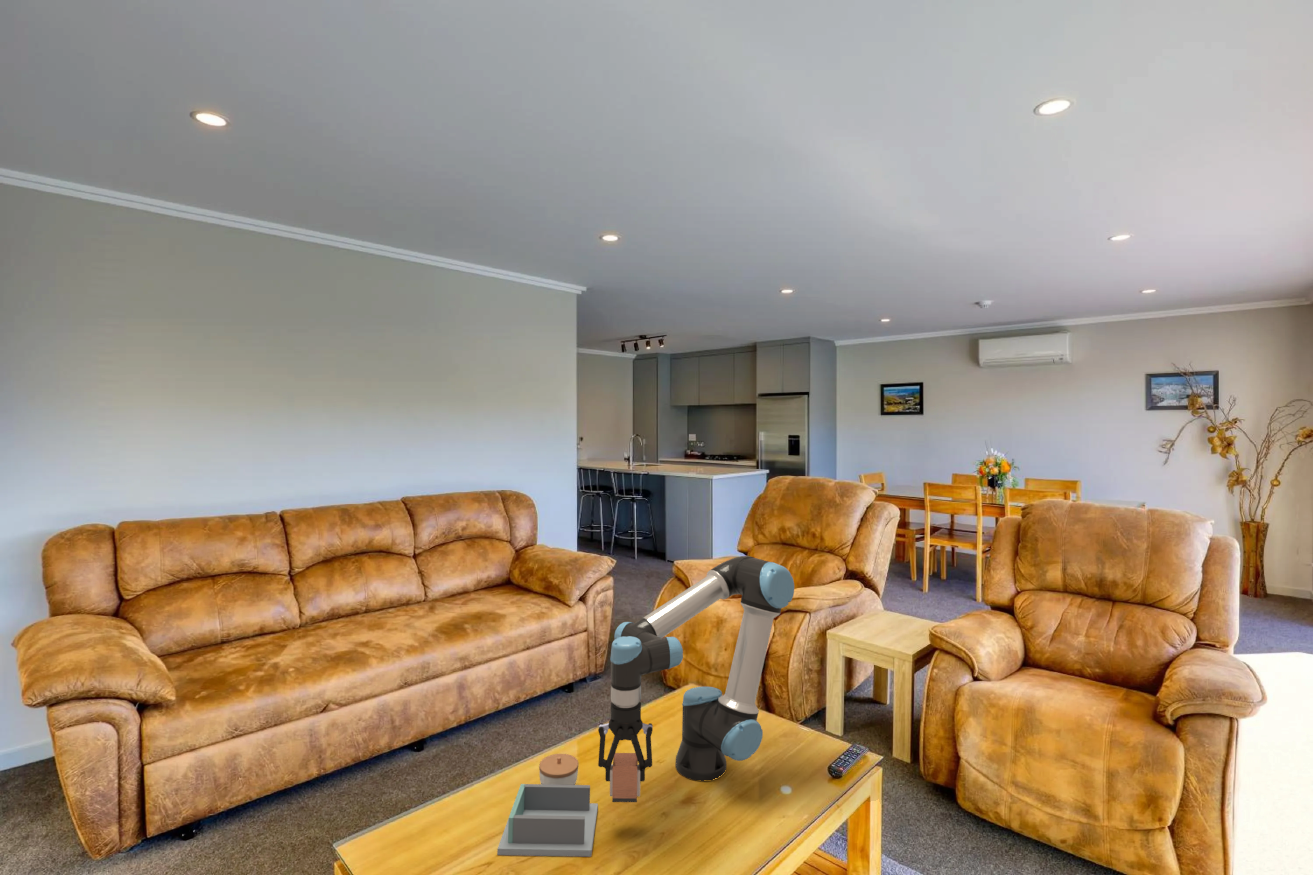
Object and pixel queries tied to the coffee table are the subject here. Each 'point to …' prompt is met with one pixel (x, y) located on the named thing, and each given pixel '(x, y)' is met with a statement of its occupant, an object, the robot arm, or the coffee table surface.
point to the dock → (550, 822)
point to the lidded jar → (559, 769)
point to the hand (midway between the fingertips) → (625, 792)
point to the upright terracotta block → (624, 777)
